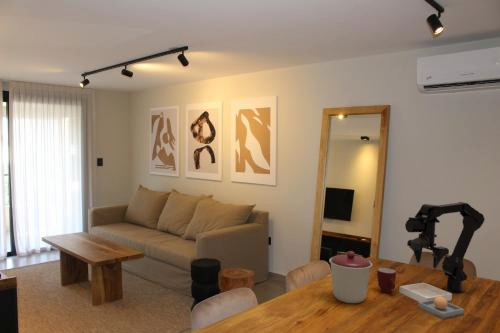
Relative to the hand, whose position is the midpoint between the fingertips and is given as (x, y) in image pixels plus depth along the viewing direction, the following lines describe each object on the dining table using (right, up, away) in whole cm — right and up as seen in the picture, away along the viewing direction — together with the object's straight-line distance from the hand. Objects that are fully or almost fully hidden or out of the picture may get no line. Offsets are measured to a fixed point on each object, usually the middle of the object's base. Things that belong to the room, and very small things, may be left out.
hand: (426, 265), depth 179 cm
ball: (-3, -10, -20) cm, 23 cm away
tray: (-3, -14, -20) cm, 24 cm away
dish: (-3, -13, -4) cm, 14 cm away
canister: (-38, -12, -10) cm, 42 cm away
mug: (-18, -13, -1) cm, 22 cm away
